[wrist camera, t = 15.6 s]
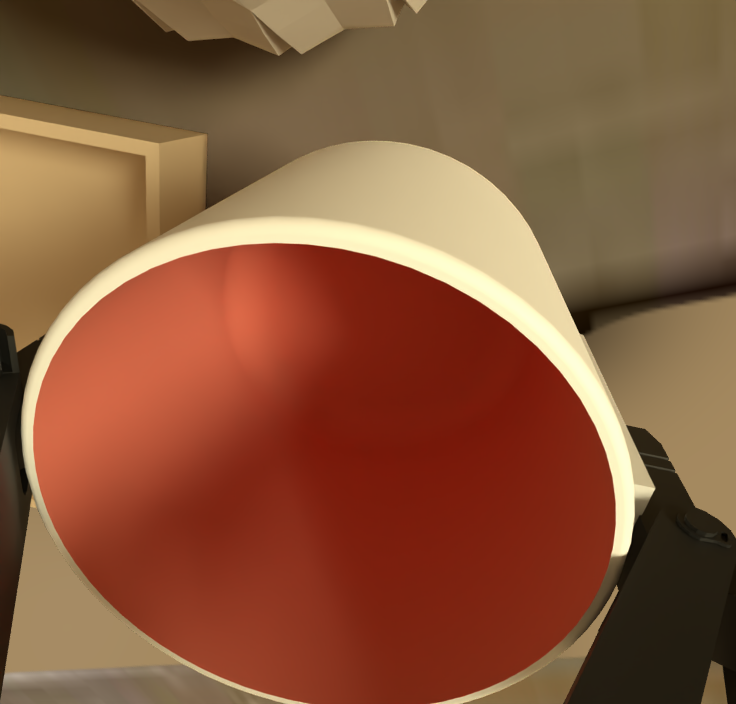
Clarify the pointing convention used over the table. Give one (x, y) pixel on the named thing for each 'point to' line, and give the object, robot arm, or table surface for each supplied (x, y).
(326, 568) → the cup
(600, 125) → the table surface
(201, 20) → the vase
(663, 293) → the table surface
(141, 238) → the box
